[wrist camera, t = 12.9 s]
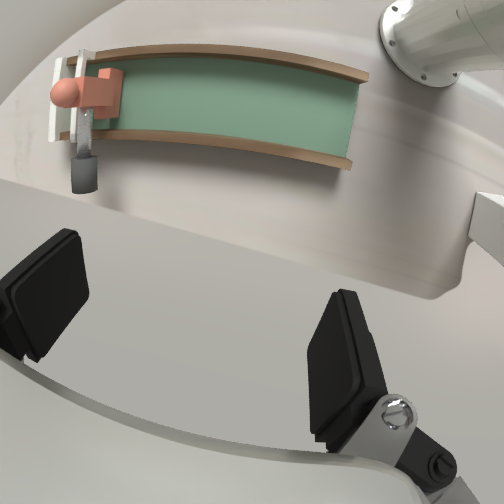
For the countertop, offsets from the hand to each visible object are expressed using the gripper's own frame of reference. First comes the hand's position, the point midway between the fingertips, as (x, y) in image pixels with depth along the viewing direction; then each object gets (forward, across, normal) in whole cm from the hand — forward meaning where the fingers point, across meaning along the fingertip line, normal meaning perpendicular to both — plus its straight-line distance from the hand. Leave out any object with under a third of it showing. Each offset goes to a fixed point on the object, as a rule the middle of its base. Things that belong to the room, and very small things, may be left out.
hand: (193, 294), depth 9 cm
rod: (+23, +18, -3) cm, 29 cm away
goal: (+24, +23, -6) cm, 34 cm away
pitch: (+25, +8, -7) cm, 27 cm away
